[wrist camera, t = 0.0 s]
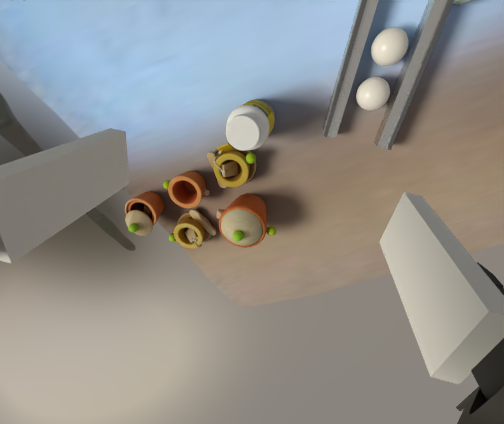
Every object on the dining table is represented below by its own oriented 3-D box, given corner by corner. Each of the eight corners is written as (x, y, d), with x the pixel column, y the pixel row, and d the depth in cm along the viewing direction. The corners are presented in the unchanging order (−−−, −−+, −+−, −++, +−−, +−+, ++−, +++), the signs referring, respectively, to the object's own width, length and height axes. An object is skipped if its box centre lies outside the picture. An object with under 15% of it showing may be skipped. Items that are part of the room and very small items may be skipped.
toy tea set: (249, 130, 41) (233, 148, 33) (289, 214, 46) (285, 248, 38) (125, 189, 50) (88, 215, 42) (171, 254, 56) (147, 288, 48)
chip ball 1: (375, 26, 32) (382, 22, 29) (408, 31, 32) (419, 28, 28) (363, 62, 34) (369, 63, 31) (394, 68, 34) (403, 69, 30)
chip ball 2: (360, 73, 34) (365, 74, 31) (390, 79, 34) (399, 81, 31) (350, 105, 36) (354, 109, 33) (378, 110, 36) (385, 115, 33)
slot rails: (362, -11, 31) (366, -16, 28) (445, 2, 30) (456, -2, 28) (321, 131, 39) (322, 136, 37) (386, 144, 38) (391, 149, 36)
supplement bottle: (280, 104, 38) (271, 116, 30) (270, 141, 41) (259, 162, 32) (243, 94, 38) (223, 103, 30) (235, 132, 41) (216, 150, 33)
